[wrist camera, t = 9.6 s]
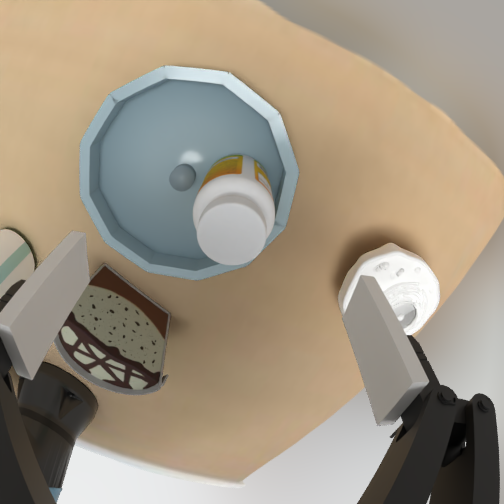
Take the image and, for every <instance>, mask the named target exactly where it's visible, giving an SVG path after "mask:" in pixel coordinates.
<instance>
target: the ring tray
mask: <svg viewBox="0 0 504 504" xmlns="http://www.w3.org/2000/svg"><path fill="white" fill-rule="evenodd" d="M232 154H243V155H247V156H250V157H252V158H254V159H256V160H257V161H258V162H259V163H260V164H261V165H262V166H263V167H264V168H265V170H266V172H267V174H268V177H269V181H270V185H271V191H272V196H273V201H274V206H275V222H274V226H273V229H272V231H271V233H270V235H269V236H268V237H267V239H266V242H265V245H264V247H263V249H262V251H263V250H264V249H265V248H266V247H267V246H268V245H269V244H270V243H271V242H272V241H273V240H274V239H275V238H276V237H277V236H278V235H279V234H280V233H281V232H282V231H283V230H284V229H285V227H286V224H287V220H288V217H289V213H290V209H291V205H292V201H293V197H294V193H295V189H296V185H297V180H298V176H299V169H298V166H297V163H296V160H295V156H294V153H293V150H292V147H291V144H290V141H289V138H288V135H287V132H286V129H285V126H284V123H283V120H282V118H281V115H280V113H279V112H278V111H277V110H276V109H275V108H273V107H272V106H271V105H270V104H269V103H268V102H266V101H265V100H264V99H263V98H261V97H260V96H259V95H258V94H257V93H255V92H254V91H253V90H252V89H250V88H249V87H248V86H247V85H245V84H244V83H243V82H241V81H240V80H239V79H238V78H236V77H235V76H234V75H232V74H231V73H229V72H224V71H217V70H209V69H200V68H190V67H178V66H162V67H160V68H158V69H156V70H153V71H151V72H149V73H147V74H145V75H143V76H141V77H139V78H137V79H135V80H133V81H131V82H130V83H128V84H126V85H124V86H122V87H120V88H118V89H117V90H115V91H113V92H111V93H110V94H109V95H108V96H107V98H106V99H105V101H104V103H103V104H102V106H101V107H100V109H99V111H98V112H97V114H96V116H95V117H94V119H93V121H92V122H91V124H90V126H89V128H88V129H87V131H86V133H85V135H84V136H83V138H82V140H81V143H80V196H81V197H80V198H81V200H82V201H83V203H84V205H85V207H86V209H87V211H88V213H89V215H90V217H91V219H92V220H93V222H94V224H95V226H96V228H97V230H98V231H99V233H100V235H101V237H102V238H103V240H104V242H105V241H106V242H105V243H106V244H108V245H109V246H110V247H112V248H113V249H115V250H116V251H117V252H119V253H120V254H122V255H123V256H124V257H126V258H127V259H129V260H130V261H132V262H133V263H134V264H136V265H137V266H139V267H140V268H142V269H143V270H145V271H146V272H147V270H148V272H149V273H155V274H161V275H166V276H172V277H178V278H184V279H190V280H196V281H197V279H198V280H202V279H205V278H209V277H212V276H215V275H219V274H222V273H225V272H229V271H232V270H235V269H239V268H242V267H245V266H247V265H249V264H250V263H251V262H252V261H253V260H254V259H255V258H256V257H257V256H256V257H255V258H254V259H252V260H251V261H249V262H247V263H244V264H240V265H224V264H220V263H218V262H215V261H213V260H212V259H211V258H209V257H208V256H207V255H206V254H205V253H204V252H203V251H202V249H201V248H200V246H199V243H198V240H197V231H196V228H195V226H194V222H193V206H194V202H195V198H196V196H197V194H198V191H199V189H200V187H201V185H202V183H203V181H204V179H205V176H206V174H207V172H208V170H209V169H210V167H211V166H212V165H213V164H214V163H215V162H216V161H217V160H219V159H220V158H222V157H225V156H227V155H232ZM262 251H261V252H262ZM261 252H260V253H261ZM260 253H259V254H260ZM259 254H258V255H259Z"/></svg>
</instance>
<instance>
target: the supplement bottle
mask: <svg viewBox="0 0 504 504" xmlns="http://www.w3.org/2000/svg"><path fill="white" fill-rule="evenodd" d="M193 222H194V226H195V228H196V231H197V240H198V243H199V246H200V248H201V249H202V251H203V252H204V253H205V254H206V255H207V256H208V257H209V258H211V259H212V260H213V261H215V262H218V263H220V264H224V265H240V264H244V263H247V262H249V261H251V260H252V259H254V258H255V257H256V256H258V254H259V253H260V252H261V251H262V249H263V247H264V245H265V242H266V239H267V237H268V236H269V235H270V233H271V231H272V229H273V226H274V222H275V206H274V201H273V196H272V191H271V185H270V181H269V177H268V174H267V172H266V170H265V168H264V167H263V166H262V165H261V164H260V163H259V162H258V161H257V160H256V159H254V158H252V157H250V156H247V155H243V154H232V155H227V156H225V157H222V158H220V159H219V160H217V161H216V162H215V163H214V164H213V165H212V166H211V167H210V169H209V170H208V172H207V174H206V176H205V179H204V181H203V183H202V185H201V187H200V189H199V191H198V194H197V196H196V198H195V202H194V206H193Z"/></svg>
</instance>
